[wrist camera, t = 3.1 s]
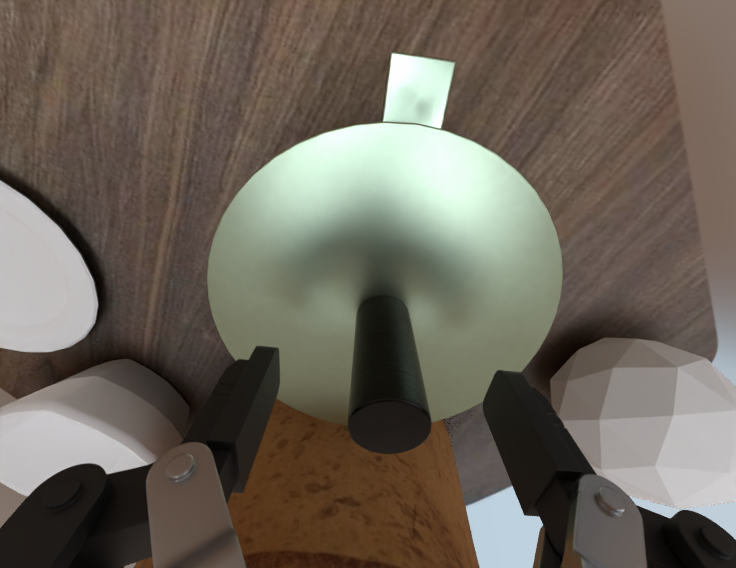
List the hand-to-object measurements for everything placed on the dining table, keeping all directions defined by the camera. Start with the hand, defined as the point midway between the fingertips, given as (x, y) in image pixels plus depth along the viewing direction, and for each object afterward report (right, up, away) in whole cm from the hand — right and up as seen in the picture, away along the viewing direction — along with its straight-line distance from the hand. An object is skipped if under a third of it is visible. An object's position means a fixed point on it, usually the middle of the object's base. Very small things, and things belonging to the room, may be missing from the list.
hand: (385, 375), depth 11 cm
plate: (-38, +6, +18) cm, 42 cm away
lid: (0, +2, +4) cm, 4 cm away
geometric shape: (+25, -6, +24) cm, 35 cm away
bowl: (-31, -11, +27) cm, 42 cm away
